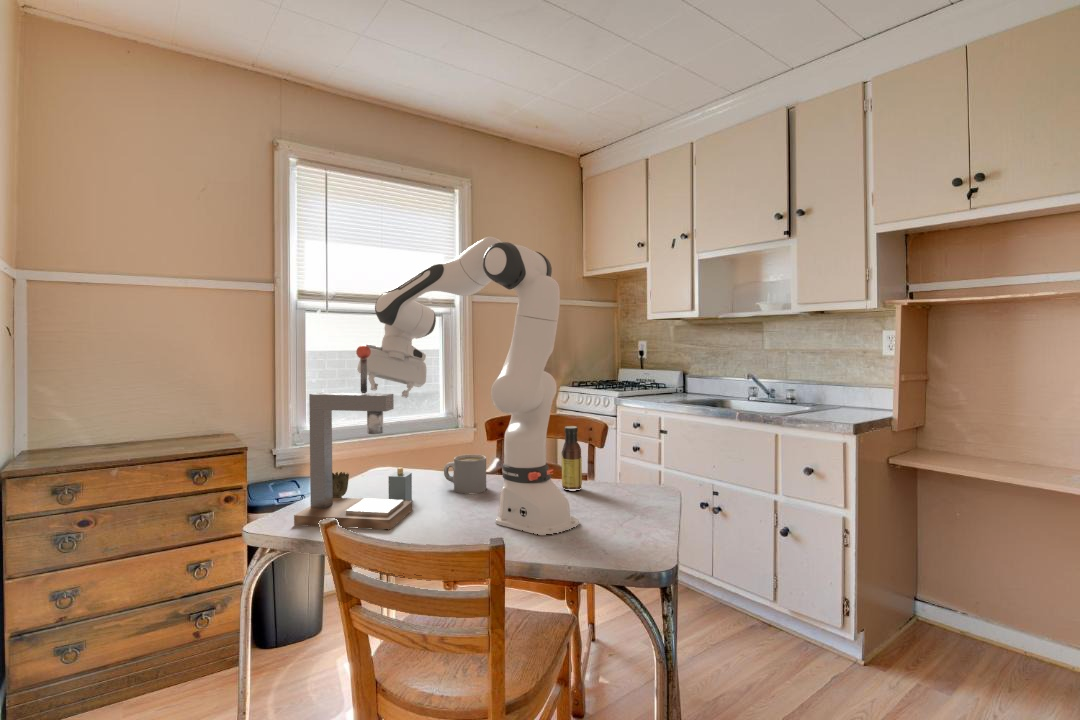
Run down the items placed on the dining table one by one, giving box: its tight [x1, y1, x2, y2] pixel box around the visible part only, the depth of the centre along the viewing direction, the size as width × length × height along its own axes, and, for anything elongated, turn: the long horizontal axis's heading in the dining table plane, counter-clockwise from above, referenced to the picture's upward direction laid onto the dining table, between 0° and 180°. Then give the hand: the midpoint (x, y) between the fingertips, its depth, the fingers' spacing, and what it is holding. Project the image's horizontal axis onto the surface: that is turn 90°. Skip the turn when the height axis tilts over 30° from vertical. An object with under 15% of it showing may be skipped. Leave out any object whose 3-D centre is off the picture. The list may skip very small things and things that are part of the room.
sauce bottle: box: [560, 425, 583, 489], centre depth 174 cm, size 7×6×20 cm
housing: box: [387, 467, 413, 501], centre depth 160 cm, size 5×5×10 cm
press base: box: [293, 497, 413, 531], centre depth 146 cm, size 25×16×2 cm, turn 83°
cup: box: [332, 471, 350, 498], centre depth 160 cm, size 8×7×8 cm
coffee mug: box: [443, 453, 487, 495], centre depth 174 cm, size 13×10×10 cm
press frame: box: [308, 344, 404, 516], centre depth 145 cm, size 22×11×43 cm, turn 83°
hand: (389, 393), depth 164 cm, fingers open, 8 cm apart
